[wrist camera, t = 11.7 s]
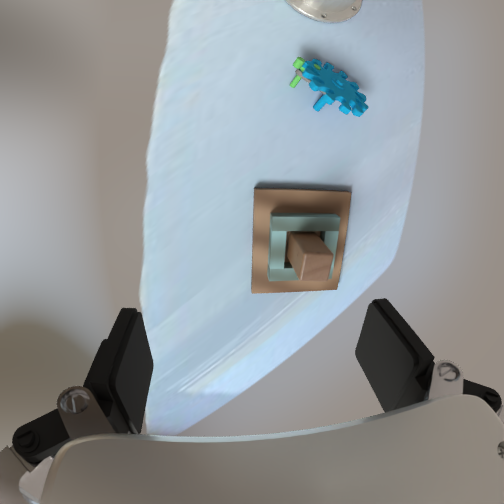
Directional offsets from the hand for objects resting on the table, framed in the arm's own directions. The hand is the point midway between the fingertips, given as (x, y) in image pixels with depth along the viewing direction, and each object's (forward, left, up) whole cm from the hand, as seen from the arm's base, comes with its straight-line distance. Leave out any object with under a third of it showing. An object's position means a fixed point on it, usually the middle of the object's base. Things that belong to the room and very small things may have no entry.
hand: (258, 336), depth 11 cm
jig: (+8, +10, -30) cm, 33 cm away
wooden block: (+8, +10, -29) cm, 32 cm away
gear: (-15, +12, -31) cm, 36 cm away
